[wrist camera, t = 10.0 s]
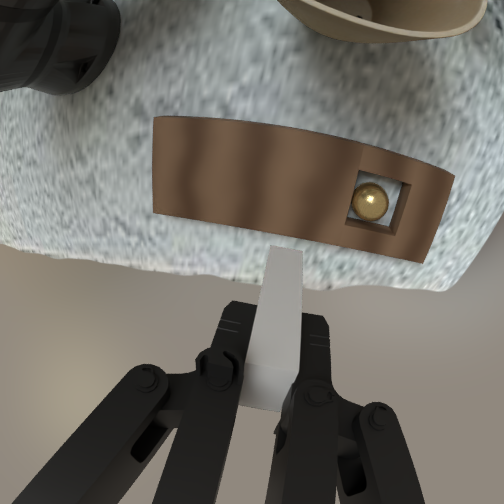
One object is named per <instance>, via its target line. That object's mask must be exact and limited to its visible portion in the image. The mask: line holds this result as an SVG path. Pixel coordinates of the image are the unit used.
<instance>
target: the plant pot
mask: <svg viewBox="0 0 504 504" xmlns="http://www.w3.org/2000/svg"><path fill="white" fill-rule="evenodd" d="M277 1H278V2H279V3H280V4H281V5H282V6H283V7H284V8H285V9H287V10H288V11H289V12H290V13H291V14H292V15H293V16H294V17H296V18H297V19H298V20H299V21H301V22H302V23H303V24H305V25H306V26H308V27H309V28H311V29H313V30H314V31H316V32H318V33H320V34H322V35H325V36H327V37H330V38H333V39H337V40H342V41H347V42H356V43H396V42H407V41H417V40H425V39H435V38H446V37H452V36H456V35H460V34H462V33H465V32H467V31H469V30H470V29H472V28H473V27H475V26H476V25H477V24H478V23H479V21H480V20H481V19H482V17H483V15H484V13H485V11H486V7H487V0H277ZM358 16H360V17H361V18H362V19H360V18H357V17H358Z"/></svg>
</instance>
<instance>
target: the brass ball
mask: <svg viewBox="0 0 504 504" xmlns="http://www.w3.org/2000/svg"><path fill="white" fill-rule="evenodd" d="M351 204H352V208H353V210H354V212H355V213H356V215H357V216H359V217H360V218H361V219H363V220H366V221H375V220H378V219H380V218H381V217H383V216H384V214H385V213H386V211H387V209H388V205H389V199H388V195H387V193H386V191H385V190H384V189H383V188H382V187H381V186H380V185H378V184H376V183H373V182H366V183H362V184H360V185H359V186H358V187H357V188H356V189H355V190H354V192H353V195H352V199H351Z"/></svg>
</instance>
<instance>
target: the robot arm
mask: <svg viewBox="0 0 504 504" xmlns="http://www.w3.org/2000/svg"><path fill="white" fill-rule="evenodd" d="M119 30H120V15H119V11H118V8H117V6H116V4H115V3H114V2H113V1H112V0H0V92H3V91H7V90H12V89H16V88H22V87H28V88H31V89H34V90H38V91H41V92H45V93H48V94H51V95H64V94H72V93H75V92H78V91H80V90H82V89H84V88H85V87H86V86H88V85H89V84H90V83H91V82H92V81H94V80H95V78H96V77H97V76H98V75H99V74H100V73H101V71H102V70H103V69H104V67H105V66H106V64H107V62H108V61H109V59H110V57H111V55H112V53H113V51H114V48H115V46H116V43H117V39H118V35H119ZM302 276H303V251H300V250H295V249H289V248H284V247H278V246H273V245H270V250H269V255H268V260H267V264H266V269H265V274H264V279H263V283H262V288H261V293H260V297H259V302H258V305H253V304H248V303H243V302H238V301H232V302H230V303H229V305H227V306H226V307H225V308H224V311H223V313H222V316H221V320H220V321H219V324H218V328H217V330H216V333H215V336H214V339H213V341H212V344H211V347H210V348H207V349H205V350H204V351H202V352H200V353H199V355H198V357H197V358H196V359H195V361H196V370H195V371H193V372H190V373H183V374H166V373H165V372H164V371H163V370H162V369H161V368H160V367H157V366H155V365H152V364H142V365H139V366H136V367H134V368H133V369H131V370H130V371H129V372H128V373H127V374H126V375H125V376H124V377H123V378H122V379H121V381H120V382H119V383H118V384H117V385H116V386H115V387H114V388H113V389H112V391H111V392H110V393H109V394H108V395H107V396H106V397H105V398H104V399H103V401H102V402H101V403H100V404H99V405H98V406H97V407H96V408H95V409H94V410H93V412H92V413H91V414H90V415H89V416H88V417H87V418H86V419H85V421H84V422H83V423H82V424H81V425H80V426H79V427H78V428H77V429H76V431H75V432H74V433H73V434H72V435H71V436H70V437H69V438H68V440H67V441H66V442H65V443H64V444H63V445H62V446H61V447H60V449H59V450H58V451H57V452H56V453H55V454H54V456H53V457H52V458H51V459H50V460H49V461H48V462H47V463H46V465H45V466H44V467H43V468H42V469H41V470H40V471H39V472H38V474H37V475H36V476H35V477H34V478H33V479H32V481H31V482H30V483H29V484H28V485H27V486H26V488H25V489H24V490H23V491H22V492H21V493H20V494H19V496H18V497H17V498H16V499H15V500H14V501H13V503H12V504H118V503H119V501H120V500H121V499H122V497H123V496H124V495H125V493H126V492H127V491H128V490H129V488H130V487H131V486H132V484H133V483H134V482H135V480H136V479H137V478H138V476H139V475H140V474H141V472H142V471H143V470H144V468H145V467H146V466H147V464H148V463H149V462H150V460H151V459H152V458H153V456H154V455H155V454H156V452H157V451H158V449H159V448H160V447H161V445H162V444H163V443H164V441H165V440H166V438H167V437H168V435H169V434H170V433H171V431H172V430H173V429H174V428H178V429H177V432H176V435H175V438H174V441H173V444H172V447H171V450H170V452H169V455H168V458H167V461H166V464H165V467H164V470H163V473H162V476H161V479H160V481H159V484H158V488H157V491H156V493H155V496H154V499H153V502H152V504H215V502H216V498H217V494H218V490H219V486H220V482H221V478H222V473H223V470H224V465H225V461H226V457H227V453H228V449H229V444H230V440H231V436H232V431H233V427H234V423H235V418H236V413H237V408H238V405H241V406H247V407H252V408H258V409H263V410H269V411H276V412H280V410H281V408H282V412H281V419H280V421H279V423H278V425H277V426H276V428H275V431H274V434H276V439H275V446H274V453H273V459H272V465H271V472H270V477H269V483H268V489H267V495H266V500H265V504H335V497H336V486H337V491H338V496H339V500H340V504H425V502H424V498H423V494H422V491H421V487H420V484H419V481H418V477H417V474H416V471H415V468H414V465H413V462H412V459H411V456H410V453H409V450H408V447H407V444H406V441H405V438H404V435H403V433H402V430H401V427H400V424H399V422H398V419H397V416H396V414H395V413H394V411H393V409H392V408H391V407H389V406H388V405H386V404H384V403H381V402H372V403H370V404H367V405H366V406H365V407H363V406H360V405H358V404H355V403H352V402H350V401H347V400H345V399H343V398H342V397H341V396H339V395H338V393H337V392H336V391H335V390H334V388H333V385H332V381H331V356H330V339H329V337H330V336H329V325H328V324H327V322H326V320H325V318H324V317H323V316H320V315H314V314H308V313H302Z"/></svg>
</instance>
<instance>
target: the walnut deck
mask: <svg viewBox="0 0 504 504" xmlns="http://www.w3.org/2000/svg"><path fill="white" fill-rule="evenodd" d="M358 170H362V171H366V172H370V173H373V174H377V175H381V176H384V177H388V178H391V179H395V180H398V181H402V182H403V183H402V187H401V190H400V194H399V197H398V200H397V204H396V207H395V210H394V213H393V216H392V219H391V222H390V225H389V227H388V226H384V225H380V224H376V223H372V222H367V221H363V220H358V219H354V218H349V217H347V214H348V210H349V207H350V203H351V199H352V195H353V191H354V187H355V183H356V179H357V175H358ZM454 178H455V175H453V174H451V173H449V172H448V171H446V170H444V169H441V168H439V167H436V166H433V165H431V164H428V163H425V162H423V161H420V160H417V159H414V158H411V157H408V156H405V155H402V154H399V153H396V152H393V151H389V150H386V149H383V148H379V147H376V146H372V145H369V144H365V143H361V142H357V141H353V140H349V139H345V138H341V137H337V136H332V135H328V134H323V133H318V132H313V131H308V130H303V129H298V128H292V127H286V126H280V125H273V124H266V123H259V122H251V121H242V120H232V119H221V118H208V117H190V116H159V117H154V121H153V151H152V189H153V213H156V214H163V215H169V216H175V217H181V218H187V219H194V220H200V221H205V222H211V223H217V224H223V225H229V226H235V227H240V228H246V229H252V230H257V231H263V232H268V233H274V234H279V235H284V236H290V237H295V238H300V239H306V240H311V241H316V242H321V243H326V244H331V245H336V246H341V247H346V248H351V249H356V250H361V251H366V252H371V253H376V254H381V255H385V256H390V257H395V258H399V259H404V260H409V261H413V262H418V263H422V264H423V262H424V260H425V258H426V256H427V253H428V251H429V249H430V246H431V244H432V241H433V239H434V236H435V234H436V231H437V229H438V226H439V223H440V221H441V218H442V215H443V212H444V209H445V207H446V204H447V201H448V197H449V194H450V191H451V188H452V185H453V181H454Z"/></svg>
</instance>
